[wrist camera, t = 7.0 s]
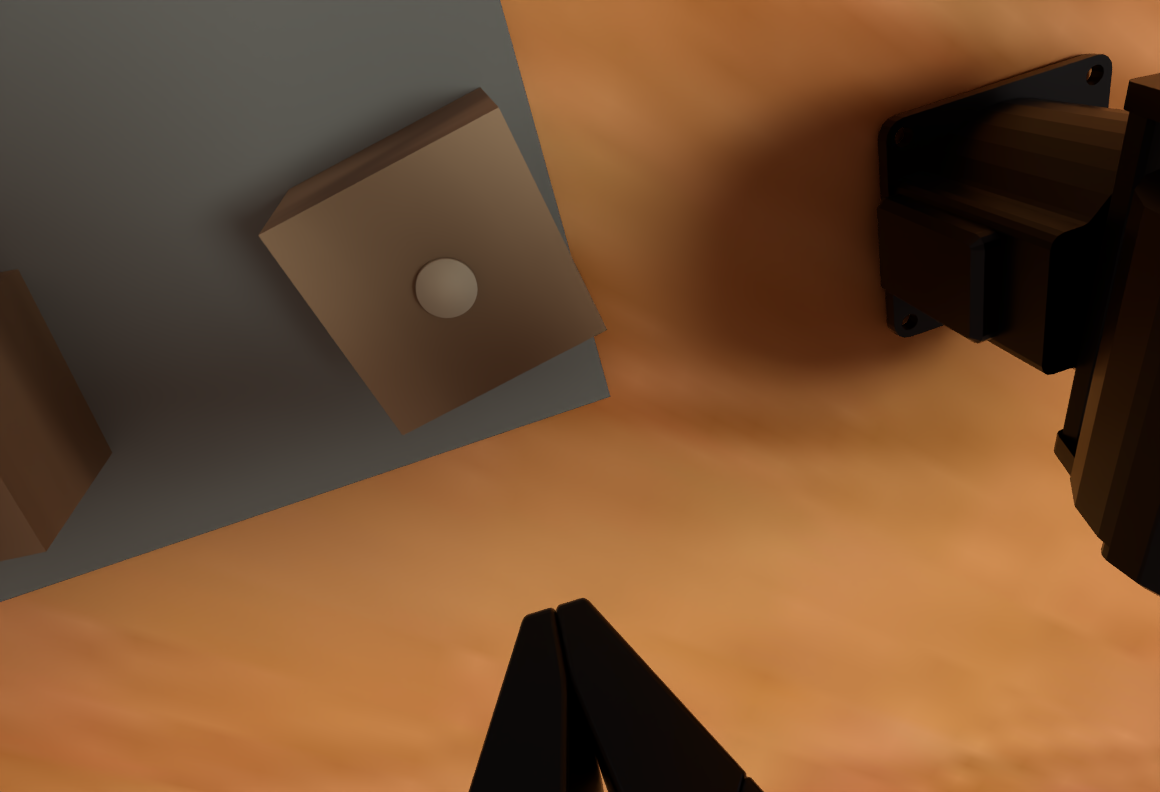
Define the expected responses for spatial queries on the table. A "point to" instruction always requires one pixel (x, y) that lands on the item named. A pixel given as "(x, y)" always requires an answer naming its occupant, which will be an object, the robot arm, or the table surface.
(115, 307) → the mat
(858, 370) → the table surface
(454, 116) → the pip block one
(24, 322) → the pip block two
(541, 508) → the table surface
